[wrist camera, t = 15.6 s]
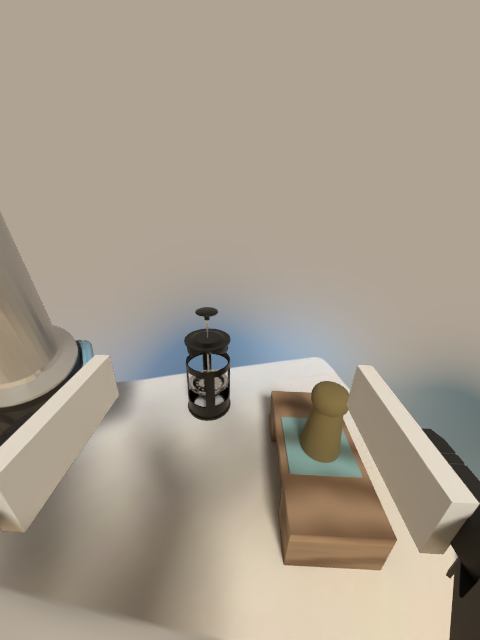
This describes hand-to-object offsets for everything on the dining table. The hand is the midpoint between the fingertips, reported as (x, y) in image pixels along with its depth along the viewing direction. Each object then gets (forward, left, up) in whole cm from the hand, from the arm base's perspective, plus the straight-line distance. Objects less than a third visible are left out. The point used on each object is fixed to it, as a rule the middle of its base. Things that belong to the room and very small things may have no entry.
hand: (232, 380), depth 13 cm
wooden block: (-8, +19, -32) cm, 38 cm away
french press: (-31, +10, -32) cm, 46 cm away
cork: (-8, +19, -25) cm, 33 cm away
